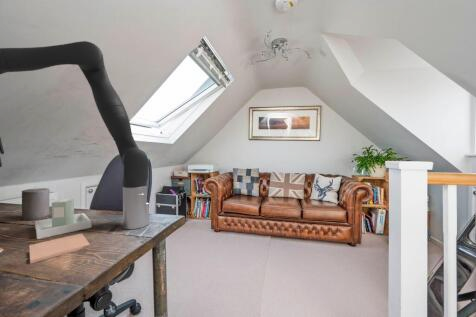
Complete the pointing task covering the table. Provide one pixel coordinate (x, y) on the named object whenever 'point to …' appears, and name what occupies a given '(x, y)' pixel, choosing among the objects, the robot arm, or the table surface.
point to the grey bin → (46, 228)
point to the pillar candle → (35, 203)
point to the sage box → (62, 212)
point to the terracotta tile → (57, 247)
